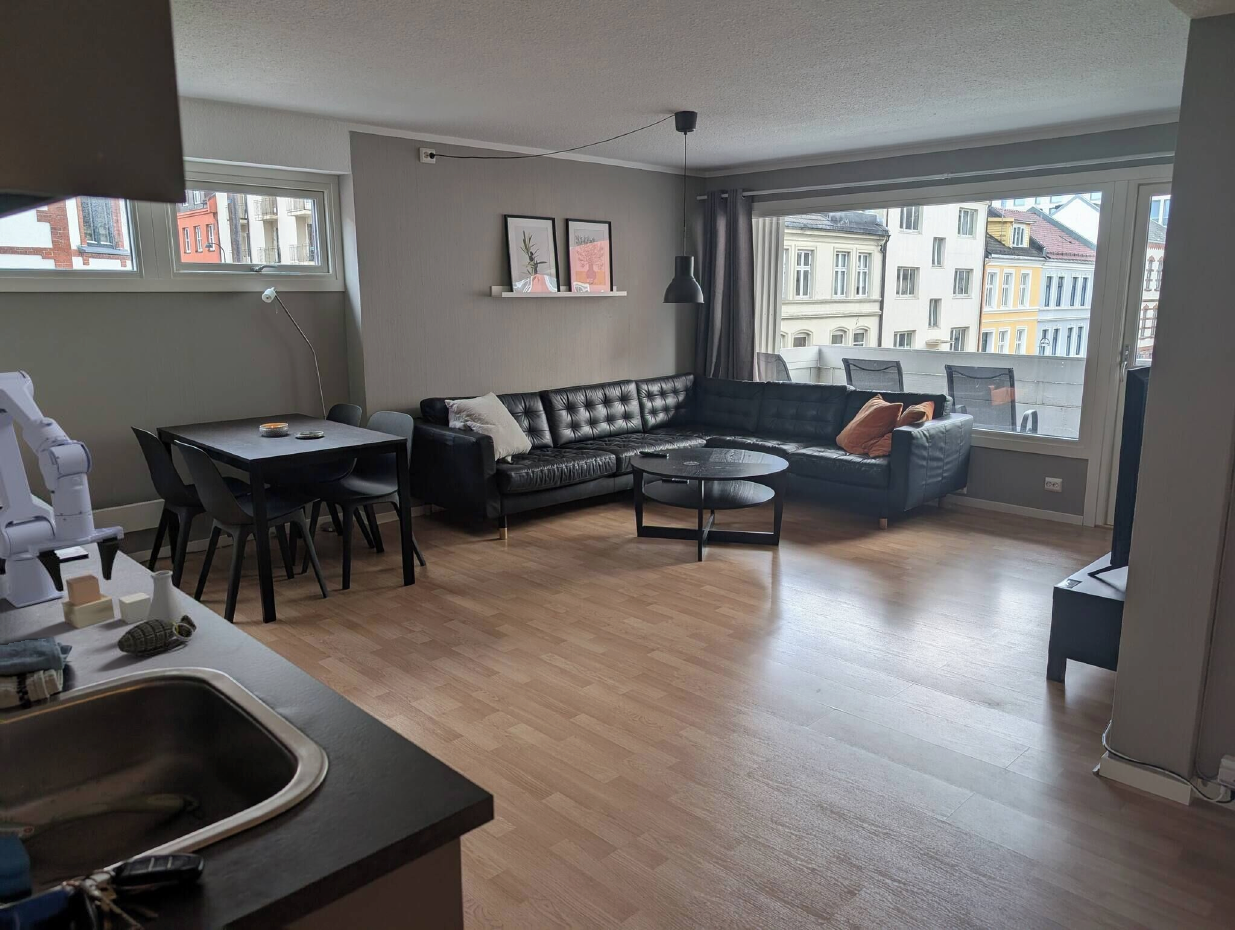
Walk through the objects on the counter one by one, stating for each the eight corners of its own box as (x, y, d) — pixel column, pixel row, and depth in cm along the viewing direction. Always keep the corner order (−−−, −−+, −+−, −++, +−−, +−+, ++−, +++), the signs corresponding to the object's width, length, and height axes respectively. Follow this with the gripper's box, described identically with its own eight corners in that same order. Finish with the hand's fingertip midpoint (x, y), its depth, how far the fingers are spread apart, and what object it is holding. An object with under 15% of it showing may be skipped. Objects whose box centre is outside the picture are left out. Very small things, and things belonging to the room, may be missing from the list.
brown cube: (69, 600, 154) (65, 579, 153) (93, 594, 157) (90, 573, 156) (76, 605, 151) (72, 584, 151) (101, 599, 154) (98, 578, 154)
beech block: (65, 622, 155) (61, 601, 154) (100, 612, 159) (97, 592, 158) (78, 629, 151) (75, 608, 150) (114, 619, 156) (111, 598, 155)
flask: (172, 636, 147) (164, 581, 145) (135, 633, 148) (128, 579, 146) (200, 620, 154) (193, 567, 152) (165, 618, 155) (158, 565, 153)
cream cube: (121, 618, 155) (118, 598, 154) (144, 612, 158) (141, 592, 157) (129, 624, 153) (126, 603, 152) (153, 617, 156) (150, 597, 155)
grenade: (118, 623, 136) (187, 602, 146) (108, 642, 138) (176, 621, 148) (138, 653, 134) (207, 630, 145) (127, 672, 136) (195, 648, 147)
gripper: (31, 524, 143) (44, 600, 146) (125, 507, 154) (135, 578, 156) (19, 517, 148) (32, 591, 150) (111, 501, 158) (121, 570, 161)
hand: (84, 584), depth 154 cm, fingers open, 7 cm apart
